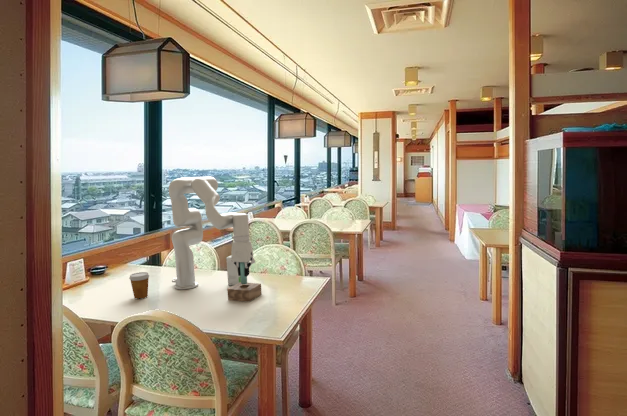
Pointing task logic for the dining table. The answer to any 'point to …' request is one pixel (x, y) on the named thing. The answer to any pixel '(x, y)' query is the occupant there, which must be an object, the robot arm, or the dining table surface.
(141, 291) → the disposable coffee cup
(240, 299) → the socket block
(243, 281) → the peg
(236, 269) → the skincare box
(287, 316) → the dining table surface
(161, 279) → the dining table surface
